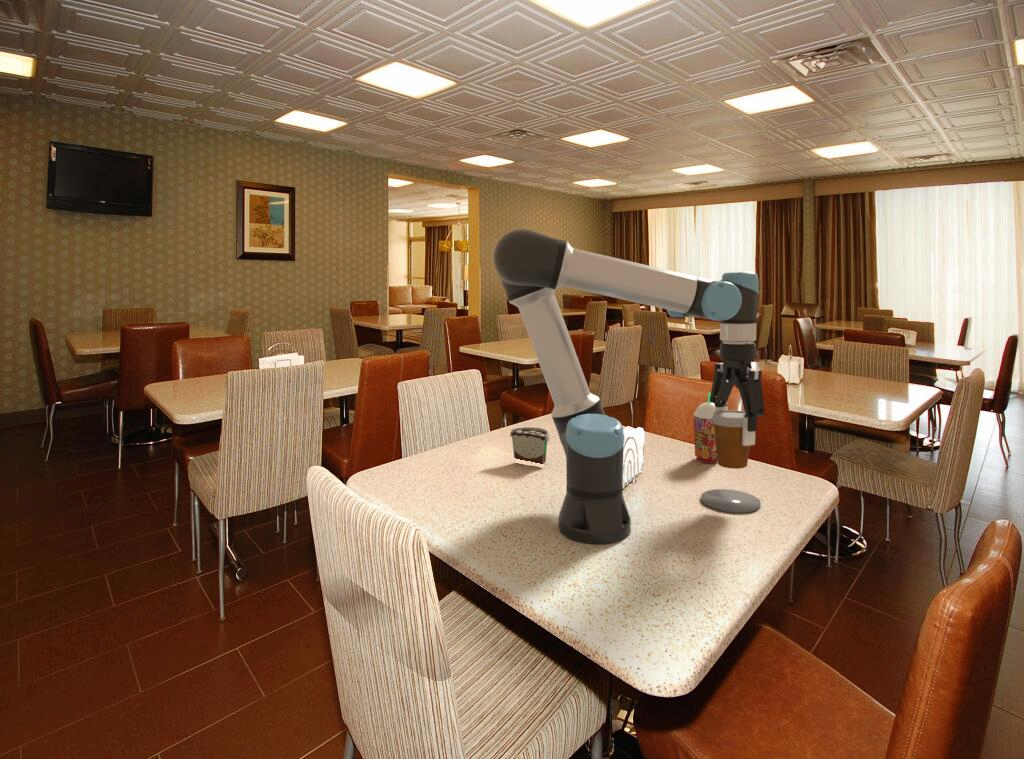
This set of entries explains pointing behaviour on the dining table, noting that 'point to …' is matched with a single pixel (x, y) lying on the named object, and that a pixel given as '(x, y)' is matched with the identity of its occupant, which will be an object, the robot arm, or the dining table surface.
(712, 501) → the coaster
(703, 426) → the smoothie
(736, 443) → the disposable coffee cup
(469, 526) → the dining table surface
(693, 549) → the dining table surface
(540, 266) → the robot arm
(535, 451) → the food container
